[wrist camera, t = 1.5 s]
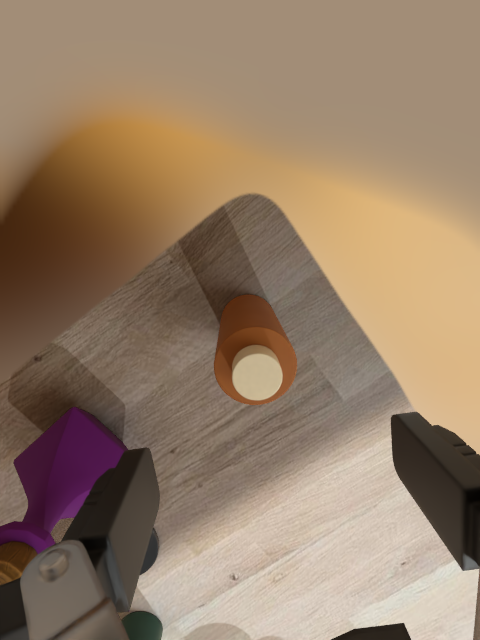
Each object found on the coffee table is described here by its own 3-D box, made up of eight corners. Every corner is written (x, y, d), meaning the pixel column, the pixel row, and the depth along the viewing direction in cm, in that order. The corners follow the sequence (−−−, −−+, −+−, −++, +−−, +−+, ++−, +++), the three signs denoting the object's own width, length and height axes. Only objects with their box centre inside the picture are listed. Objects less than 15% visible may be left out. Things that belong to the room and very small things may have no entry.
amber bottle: (215, 339, 31) (203, 408, 18) (228, 288, 30) (223, 324, 17) (267, 351, 31) (288, 426, 19) (281, 301, 30) (313, 345, 18)
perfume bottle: (89, 388, 31) (-93, 580, 14) (149, 444, 33) (52, 682, 15) (33, 439, 32) (-202, 678, 15) (94, 491, 34) (-57, 765, 16)
